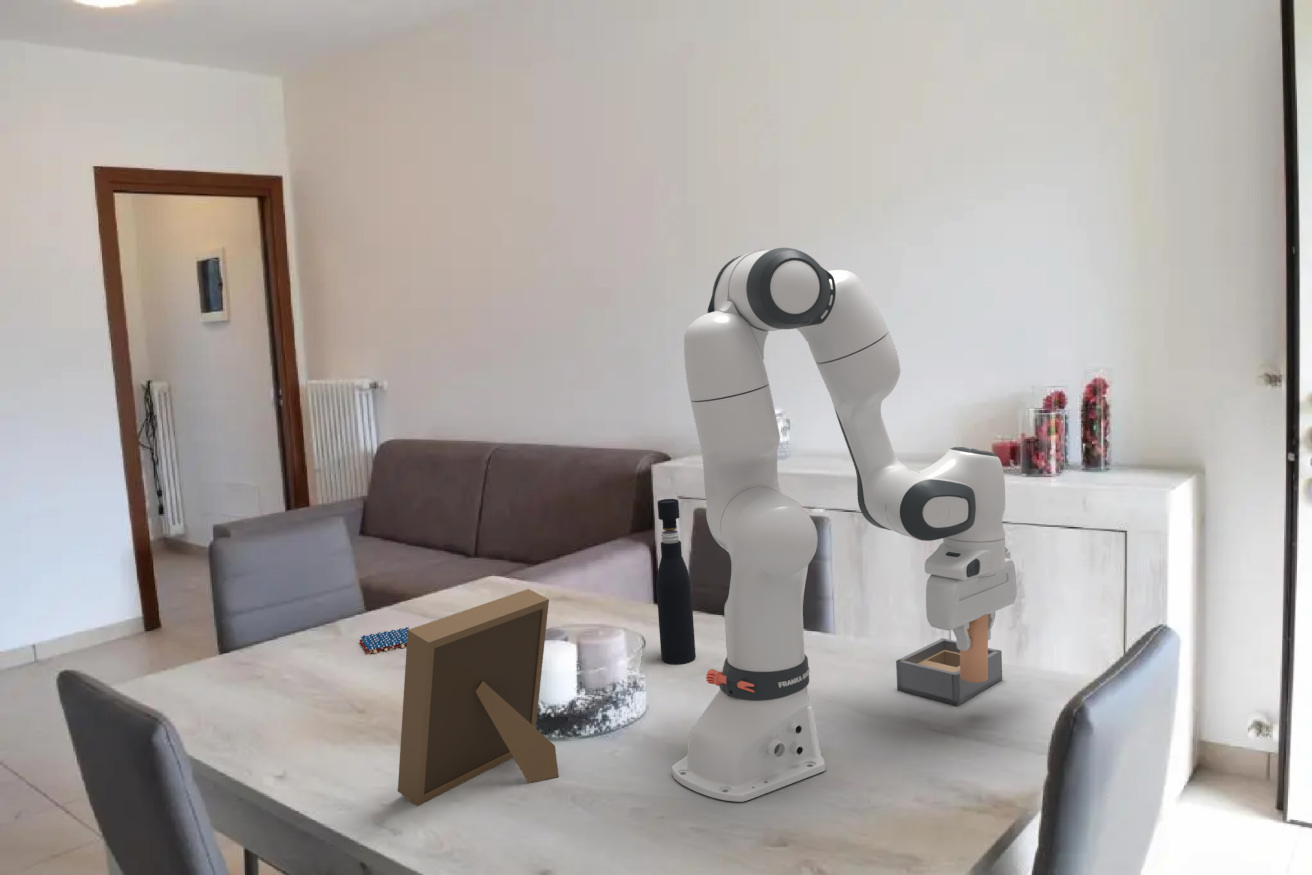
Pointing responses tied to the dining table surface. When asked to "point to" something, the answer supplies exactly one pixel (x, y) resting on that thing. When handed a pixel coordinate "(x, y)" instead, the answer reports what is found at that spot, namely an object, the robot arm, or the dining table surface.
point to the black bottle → (674, 592)
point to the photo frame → (474, 697)
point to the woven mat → (384, 641)
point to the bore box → (943, 673)
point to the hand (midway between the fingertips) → (973, 644)
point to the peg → (976, 652)
